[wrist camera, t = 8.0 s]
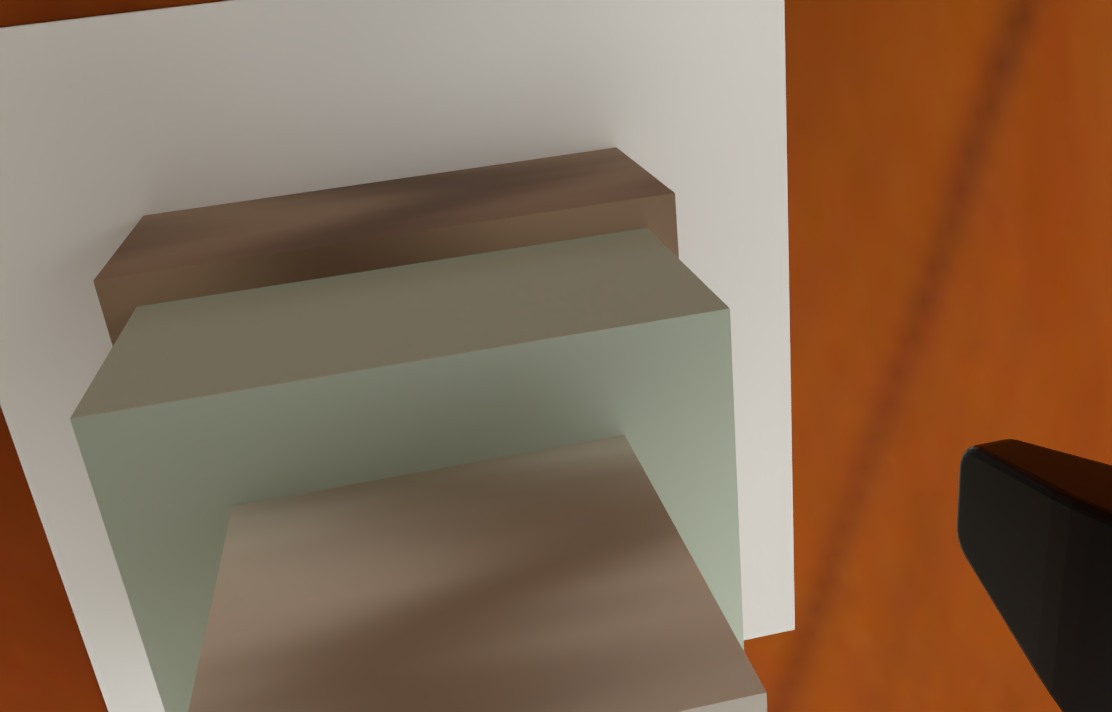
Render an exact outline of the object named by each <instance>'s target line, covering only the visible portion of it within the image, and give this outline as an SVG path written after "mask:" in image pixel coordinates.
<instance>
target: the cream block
mask: <svg viewBox="0 0 1112 712" xmlns="http://www.w3.org/2000/svg"><path fill="white" fill-rule="evenodd" d="M188 712H767V692H766V691H765V689H764V687H763V685H762V683H761V682H760V680H759V678H758V676H757V674H756V672H755V671H754V669H753V667H752V665H751V663H750V662H749V660H748V658H747V656H746V654H745V652H744V651H743V649H742V647H741V645H740V643H739V642H738V640H737V638H736V636H735V634H734V632H733V631H732V629H731V627H730V625H729V623H728V622H727V620H726V618H725V616H724V614H723V612H722V611H721V609H720V607H719V605H718V603H717V602H716V600H715V598H714V596H713V594H712V593H711V591H710V589H709V587H708V585H707V583H706V582H705V580H704V578H703V576H702V574H701V573H700V571H699V569H698V567H697V565H696V563H695V562H694V560H693V558H692V556H691V554H690V553H689V551H688V549H687V547H686V545H685V543H684V542H683V540H682V538H681V536H680V534H679V533H678V531H677V529H676V527H675V525H674V523H673V522H672V520H671V518H670V516H669V514H668V513H667V511H666V509H665V507H664V505H663V503H662V502H661V500H660V498H659V496H658V494H657V493H656V491H655V489H654V487H653V485H652V483H651V482H650V480H649V478H648V476H647V474H646V473H645V471H644V469H643V467H642V465H641V463H640V462H639V460H638V458H637V456H636V454H635V453H634V451H633V449H632V447H631V445H630V444H629V442H628V440H627V438H626V436H625V435H622V436H617V437H611V438H606V439H600V440H594V441H589V442H583V443H578V444H572V445H567V446H561V447H556V448H550V449H545V450H539V451H534V452H528V453H523V454H517V455H512V456H506V457H501V458H495V459H490V460H484V461H479V462H473V463H468V464H462V465H457V466H451V467H446V468H440V469H435V470H429V471H424V472H418V473H412V474H407V475H401V476H396V477H390V478H385V479H379V480H374V481H368V482H363V483H357V484H352V485H346V486H341V487H335V488H330V489H324V490H319V491H313V492H308V493H302V494H297V495H291V496H286V497H280V498H275V499H269V500H264V501H258V502H253V503H247V504H242V505H236V506H232V510H231V515H230V519H229V524H228V529H227V533H226V538H225V543H224V547H223V552H222V557H221V561H220V566H219V571H218V575H217V580H216V584H215V589H214V594H213V598H212V603H211V608H210V612H209V617H208V622H207V626H206V631H205V636H204V640H203V645H202V649H201V654H200V659H199V663H198V668H197V673H196V677H195V682H194V687H193V691H192V696H191V701H190V705H189V710H188Z"/></svg>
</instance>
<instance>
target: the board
mask: <svg viewBox="0 0 1112 712" xmlns="http://www.w3.org/2000/svg"><path fill="white" fill-rule="evenodd" d="M616 147H617V148H618V149H619V150H621V151H622V152H623V153H624V154H626V155H627V156H628V157H630V158H631V159H632V160H633V161H635V162H636V163H637V164H639V165H640V166H641V167H642V168H644V169H645V170H646V171H647V172H649V173H650V174H651V175H653V176H654V177H655V178H656V179H658V180H659V181H660V182H662V183H663V184H664V185H665V186H667V187H668V188H669V189H671V190H672V191H673V192H674V193H675V201H676V218H677V234H678V251H679V259H680V260H681V261H682V262H683V263H684V264H685V265H686V266H687V267H688V268H689V269H690V270H691V271H692V272H693V273H694V274H695V275H696V276H697V277H698V278H699V279H700V280H701V281H702V282H703V283H704V284H705V285H706V286H707V287H708V288H709V289H710V290H712V291H713V292H714V293H715V294H716V295H717V296H718V297H719V298H720V299H721V300H722V301H723V302H724V303H725V304H726V305H727V306H728V307H729V308H730V321H731V345H732V370H733V394H734V418H735V443H736V467H737V492H738V516H739V540H740V565H741V589H742V614H743V638H744V640H747V639H752V638H757V637H762V636H766V635H771V634H776V633H781V632H785V631H790V630H795V610H794V550H793V491H792V431H791V371H790V311H789V251H788V191H787V131H786V71H785V11H784V0H226V1H218V2H210V3H201V4H193V5H184V6H176V7H168V8H159V9H151V10H143V11H134V12H126V13H117V14H109V15H101V16H92V17H84V18H76V19H67V20H59V21H50V22H42V23H34V24H25V25H17V26H9V27H0V405H1V408H2V411H3V414H4V417H5V420H6V422H7V425H8V428H9V431H10V434H11V437H12V439H13V442H14V445H15V448H16V451H17V454H18V456H19V459H20V462H21V465H22V468H23V471H24V473H25V476H26V479H27V482H28V485H29V488H30V490H31V493H32V496H33V499H34V502H35V505H36V508H37V510H38V513H39V516H40V519H41V522H42V525H43V527H44V530H45V533H46V536H47V539H48V542H49V544H50V547H51V550H52V553H53V556H54V559H55V561H56V564H57V567H58V570H59V573H60V576H61V578H62V581H63V584H64V587H65V590H66V593H67V595H68V598H69V601H70V604H71V607H72V610H73V612H74V615H75V618H76V621H77V624H78V627H79V629H80V632H81V635H82V638H83V641H84V644H85V646H86V649H87V652H88V655H89V658H90V661H91V663H92V666H93V669H94V672H95V675H96V678H97V681H98V683H99V686H100V689H101V692H102V695H103V698H104V700H105V703H106V706H107V709H108V712H165V710H164V707H163V704H162V701H161V698H160V695H159V692H158V689H157V685H156V682H155V679H154V676H153V673H152V670H151V667H150V664H149V661H148V658H147V655H146V652H145V649H144V645H143V642H142V639H141V636H140V633H139V630H138V627H137V624H136V621H135V618H134V615H133V612H132V609H131V605H130V602H129V599H128V596H127V593H126V590H125V587H124V584H123V581H122V578H121V575H120V572H119V569H118V565H117V562H116V559H115V556H114V553H113V550H112V547H111V544H110V541H109V538H108V535H107V532H106V529H105V525H104V522H103V519H102V516H101V513H100V510H99V507H98V504H97V501H96V498H95V495H94V492H93V489H92V485H91V482H90V479H89V476H88V473H87V470H86V467H85V464H84V461H83V458H82V455H81V452H80V449H79V445H78V442H77V439H76V436H75V433H74V430H73V427H72V424H71V421H70V417H71V416H72V414H73V412H74V411H75V409H76V407H77V406H78V404H79V402H80V401H81V399H82V397H83V396H84V394H85V392H86V391H87V389H88V387H89V386H90V384H91V382H92V381H93V379H94V377H95V376H96V374H97V372H98V371H99V369H100V367H101V365H102V364H103V362H104V360H105V359H106V357H107V355H108V354H109V352H110V350H111V349H112V347H113V346H112V343H111V339H110V336H109V332H108V329H107V326H106V322H105V319H104V316H103V312H102V309H101V306H100V302H99V299H98V295H97V292H96V289H95V285H94V282H93V280H94V279H95V278H96V276H97V275H98V274H99V272H100V271H101V270H102V269H103V267H104V266H105V265H106V263H107V262H108V261H109V260H110V258H111V257H112V256H113V254H114V253H115V252H116V250H117V249H118V248H119V247H120V245H121V244H122V243H123V241H124V240H125V239H126V237H127V236H128V235H129V234H130V232H131V231H132V230H133V228H134V227H135V226H136V224H137V223H138V222H139V221H140V219H141V218H142V217H143V216H144V215H150V214H157V213H164V212H171V211H178V210H185V209H192V208H199V207H206V206H213V205H220V204H227V203H234V202H241V201H248V200H255V199H262V198H269V197H275V196H282V195H289V194H296V193H303V192H310V191H317V190H324V189H331V188H338V187H345V186H352V185H359V184H366V183H373V182H380V181H387V180H394V179H400V178H407V177H414V176H421V175H428V174H435V173H442V172H449V171H456V170H463V169H470V168H477V167H484V166H491V165H498V164H505V163H512V162H518V161H525V160H532V159H539V158H546V157H553V156H560V155H567V154H574V153H581V152H588V151H595V150H602V149H609V148H616Z"/></svg>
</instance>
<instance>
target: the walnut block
mask: <svg viewBox="0 0 1112 712" xmlns="http://www.w3.org/2000/svg"><path fill="white" fill-rule="evenodd" d="M642 228H648V229H649V230H650V231H651V232H652V233H653V234H654V235H655V236H656V237H657V238H658V239H659V240H660V241H661V242H662V243H663V244H664V245H665V246H666V247H667V248H668V249H669V250H670V251H671V252H672V253H673V254H675V255H676V256H677V257H678V258H679V251H678V234H677V218H676V201H675V193H674V192H673V191H672V190H671V189H669V188H668V187H667V186H665V185H664V184H663V183H662V182H660V181H659V180H658V179H656V178H655V177H654V176H653V175H651V174H650V173H649V172H647V171H646V170H645V169H644V168H642V167H641V166H640V165H639V164H637V163H636V162H635V161H633V160H632V159H631V158H630V157H628V156H627V155H626V154H624V153H623V152H622V151H621V150H619V149H618V148H617V147H616V148H609V149H602V150H595V151H588V152H581V153H574V154H567V155H560V156H553V157H546V158H539V159H532V160H525V161H518V162H512V163H505V164H498V165H491V166H484V167H477V168H470V169H463V170H456V171H449V172H442V173H435V174H428V175H421V176H414V177H407V178H400V179H394V180H387V181H380V182H373V183H366V184H359V185H352V186H345V187H338V188H331V189H324V190H317V191H310V192H303V193H296V194H289V195H282V196H275V197H269V198H262V199H255V200H248V201H241V202H234V203H227V204H220V205H213V206H206V207H199V208H192V209H185V210H178V211H171V212H164V213H157V214H150V215H144V216H143V217H142V218H141V219H140V221H139V222H138V223H137V224H136V226H135V227H134V228H133V230H132V231H131V232H130V234H129V235H128V236H127V237H126V239H125V240H124V241H123V243H122V244H121V245H120V247H119V248H118V249H117V250H116V252H115V253H114V254H113V256H112V257H111V258H110V260H109V261H108V262H107V263H106V265H105V266H104V267H103V269H102V270H101V271H100V272H99V274H98V275H97V276H96V278H95V279H94V280H93V282H94V285H95V289H96V292H97V295H98V299H99V302H100V306H101V309H102V312H103V316H104V319H105V322H106V326H107V329H108V332H109V336H110V339H111V343H112V346H113V345H114V344H115V342H116V340H117V339H118V337H119V335H120V334H121V332H122V330H123V329H124V327H125V325H126V324H127V322H128V320H129V319H130V317H131V315H132V314H133V312H134V310H135V308H136V307H138V306H145V305H151V304H157V303H164V302H170V301H177V300H183V299H190V298H196V297H203V296H209V295H216V294H222V293H229V292H235V291H241V290H248V289H254V288H261V287H267V286H274V285H280V284H287V283H293V282H300V281H306V280H313V279H319V278H325V277H332V276H338V275H345V274H351V273H358V272H364V271H371V270H377V269H384V268H390V267H396V266H403V265H409V264H416V263H422V262H429V261H435V260H442V259H448V258H455V257H461V256H468V255H474V254H480V253H487V252H493V251H500V250H506V249H513V248H519V247H526V246H532V245H539V244H545V243H552V242H558V241H564V240H571V239H577V238H584V237H590V236H597V235H603V234H610V233H616V232H623V231H629V230H635V229H642Z"/></svg>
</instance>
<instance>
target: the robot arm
mask: <svg viewBox="0 0 1112 712" xmlns="http://www.w3.org/2000/svg"><path fill="white" fill-rule="evenodd" d="M957 532H958V539H959V542H960V546H961V548H962V551H963V553H964V555H965V557H966V559H967V560H968V562H969V564H970V565H971V567H972V568H973V570H974V572H975V573H976V575H977V577H978V578H979V580H980V582H981V583H982V585H983V586H984V588H985V590H986V591H987V593H988V595H989V596H990V598H991V600H992V601H993V603H994V605H995V606H996V608H997V609H998V611H999V613H1000V614H1001V616H1002V618H1003V619H1004V621H1005V623H1006V624H1007V626H1008V627H1009V629H1010V631H1011V632H1012V634H1013V636H1014V637H1015V639H1016V641H1017V642H1018V644H1019V646H1020V647H1021V649H1022V650H1023V652H1024V654H1025V655H1026V657H1027V659H1028V660H1029V662H1030V664H1031V665H1032V667H1033V668H1034V670H1035V672H1036V673H1037V675H1038V676H1039V678H1040V679H1041V681H1042V682H1043V684H1044V686H1045V687H1046V689H1047V690H1048V692H1049V693H1050V695H1051V696H1052V698H1053V699H1054V700H1055V702H1056V703H1057V704H1058V706H1059V707H1060V709H1061V710H1062V711H1063V712H1112V465H1108V464H1104V463H1101V462H1097V461H1093V460H1089V459H1086V458H1082V457H1078V456H1075V455H1071V454H1067V453H1063V452H1060V451H1056V450H1052V449H1048V448H1045V447H1041V446H1037V445H1034V444H1030V443H1026V442H1022V441H1019V440H1014V439H1005V440H1000V441H995V442H990V443H985V444H980V445H975V446H972V447H969V448H968V449H967V450H966V451H965V452H964V454H963V456H962V459H961V464H960V476H959V496H958V515H957Z"/></svg>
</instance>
